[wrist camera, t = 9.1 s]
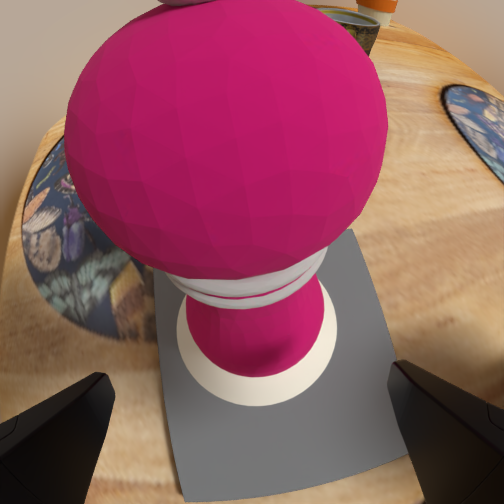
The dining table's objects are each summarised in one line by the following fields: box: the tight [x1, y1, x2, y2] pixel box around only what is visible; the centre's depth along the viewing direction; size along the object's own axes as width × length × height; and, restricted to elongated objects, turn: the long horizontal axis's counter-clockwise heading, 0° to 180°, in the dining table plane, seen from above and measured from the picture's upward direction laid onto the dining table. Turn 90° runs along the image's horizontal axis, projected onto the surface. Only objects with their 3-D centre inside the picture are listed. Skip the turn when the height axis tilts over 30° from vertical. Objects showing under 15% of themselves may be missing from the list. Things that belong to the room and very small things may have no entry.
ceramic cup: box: [317, 8, 380, 57], centre depth 33 cm, size 13×10×10 cm
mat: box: [153, 229, 408, 502], centre depth 18 cm, size 18×16×1 cm
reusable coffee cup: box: [356, 0, 398, 26], centre depth 50 cm, size 13×13×15 cm
